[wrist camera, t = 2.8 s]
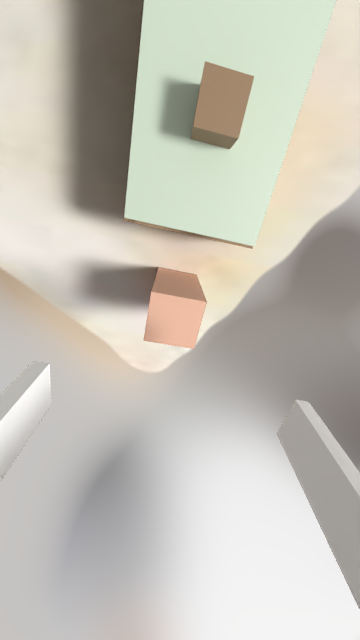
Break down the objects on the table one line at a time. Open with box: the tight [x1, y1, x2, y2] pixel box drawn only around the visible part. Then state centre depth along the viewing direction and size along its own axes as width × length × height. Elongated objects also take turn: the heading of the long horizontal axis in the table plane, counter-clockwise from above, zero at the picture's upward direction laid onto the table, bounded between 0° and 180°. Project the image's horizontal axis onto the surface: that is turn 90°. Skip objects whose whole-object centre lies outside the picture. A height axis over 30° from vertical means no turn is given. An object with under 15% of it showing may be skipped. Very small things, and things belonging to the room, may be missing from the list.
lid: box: [124, 0, 336, 246], centre depth 15 cm, size 11×17×4 cm, turn 168°
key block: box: [144, 268, 207, 349], centre depth 25 cm, size 5×5×10 cm
